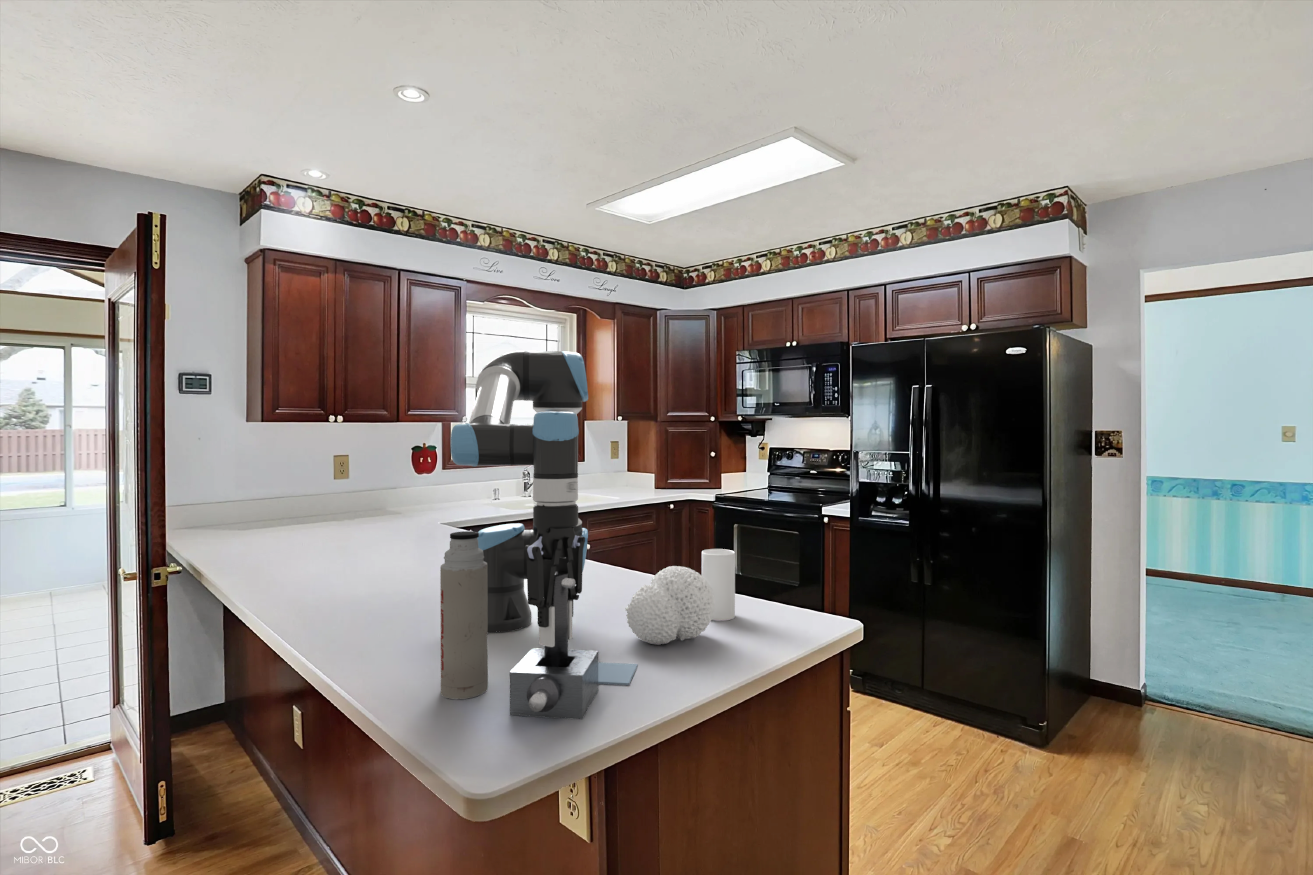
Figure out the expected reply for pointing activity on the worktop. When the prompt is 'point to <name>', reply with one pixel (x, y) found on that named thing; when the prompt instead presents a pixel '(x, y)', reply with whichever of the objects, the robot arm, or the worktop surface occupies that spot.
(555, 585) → the key
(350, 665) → the worktop surface
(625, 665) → the mat
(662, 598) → the white coral
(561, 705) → the block
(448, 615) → the thermos bottle
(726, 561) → the cup
